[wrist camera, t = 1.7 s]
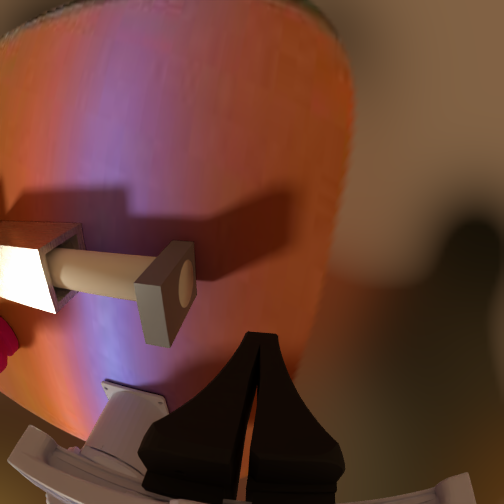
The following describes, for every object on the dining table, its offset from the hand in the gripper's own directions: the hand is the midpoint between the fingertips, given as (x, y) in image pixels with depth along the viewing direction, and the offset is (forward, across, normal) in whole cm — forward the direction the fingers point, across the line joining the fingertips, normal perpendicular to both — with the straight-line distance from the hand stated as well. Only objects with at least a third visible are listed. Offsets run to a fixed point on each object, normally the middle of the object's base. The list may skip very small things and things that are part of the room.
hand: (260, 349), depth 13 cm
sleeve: (+8, +21, 0) cm, 23 cm away
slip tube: (+7, +16, 0) cm, 18 cm away
